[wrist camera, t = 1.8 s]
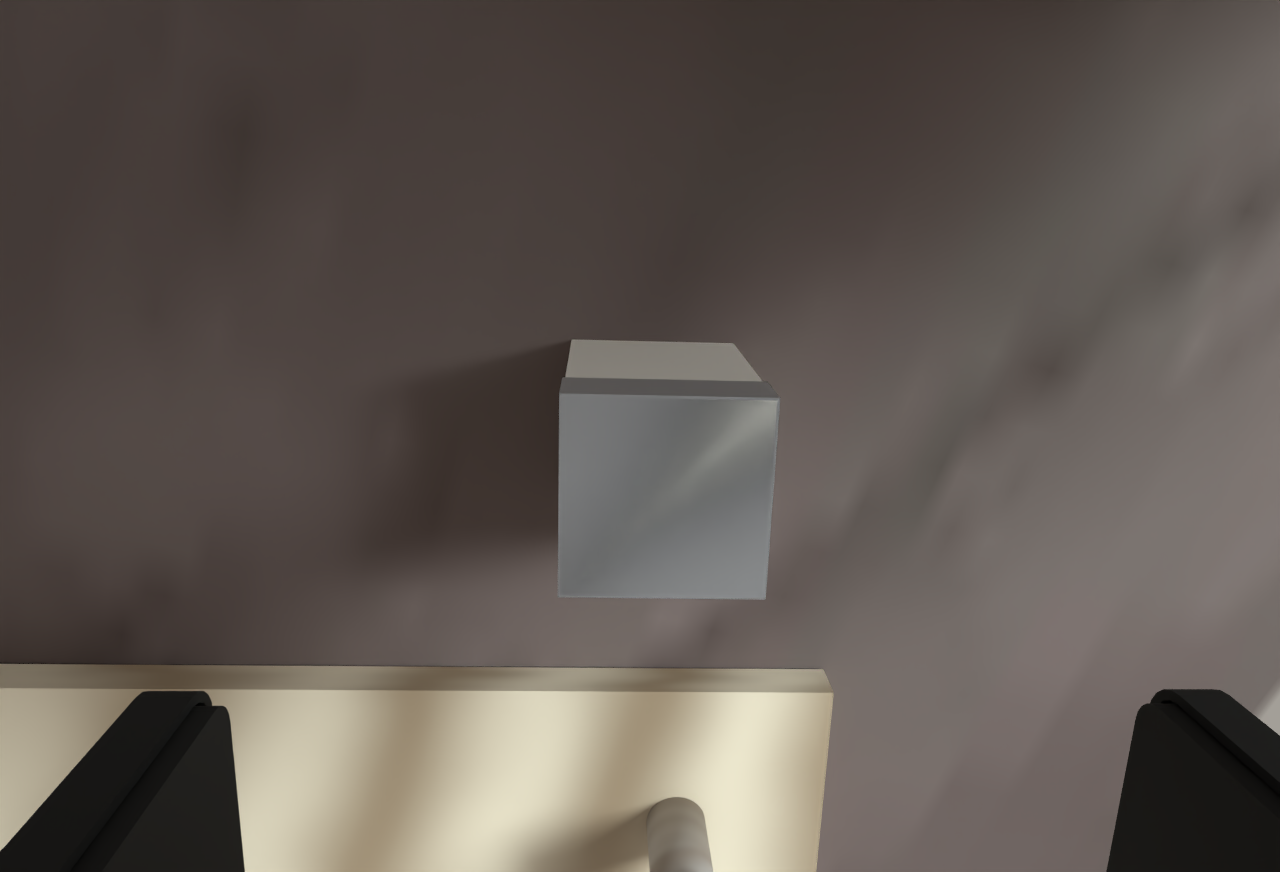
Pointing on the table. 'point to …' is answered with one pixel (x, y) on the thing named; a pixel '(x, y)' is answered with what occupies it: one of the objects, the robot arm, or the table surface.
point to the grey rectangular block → (664, 471)
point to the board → (470, 762)
